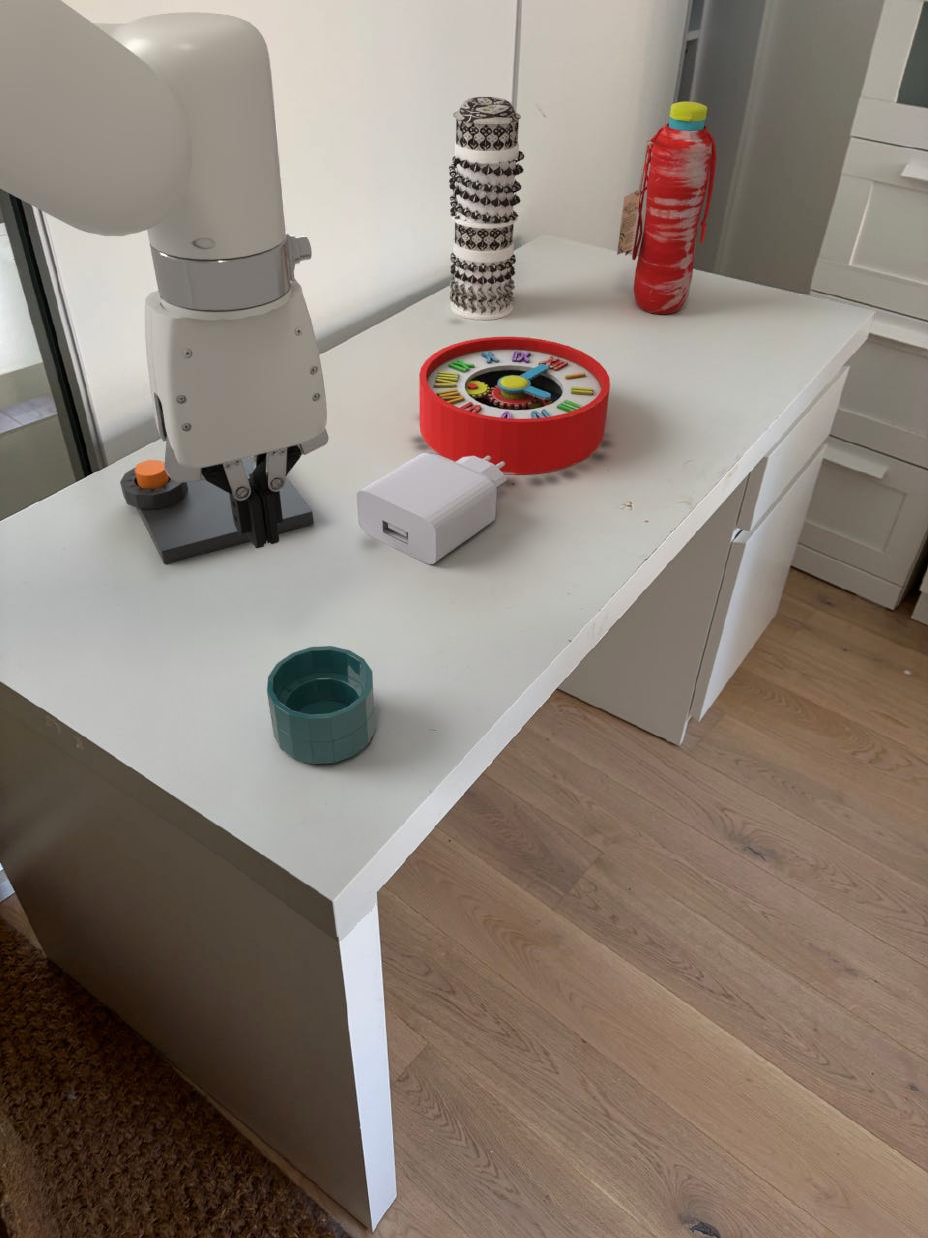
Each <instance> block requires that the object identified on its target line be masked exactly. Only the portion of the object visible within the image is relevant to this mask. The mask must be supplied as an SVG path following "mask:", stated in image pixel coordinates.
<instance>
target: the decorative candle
mask: <svg viewBox="0 0 928 1238" xmlns="http://www.w3.org/2000/svg"><path fill="white" fill-rule="evenodd" d="M452 117H453V118H455V140H454V149H453V150H454V156H453V157H452V163H451V164H450V165H449V166H448V170H449V173H448V174H449V176H450V178H449V180H448V183H449V186H448V187H449V190H452V192H453V193H452V194H451V195H450V196H449V200H450V203H449V204H450V206H451V208H450V210H449V212H450V217H451V220H452V221H453V222H454V238H453V241H452V242H453V243H452V245H453V247H452V248H453V250H452V251H453V252H451V254H450V262H451V263H453V264H451V265H450V274H451V275H453V276H452V277H451V278H450V280H449V288H450V289H451V290H450V292H449V299H450V311H451V312H452V313H454V314H455V315H456V316H459V317H461V318H464V319H468V320H475V321H491V320H499V319H502V318H505V317H506V316H509V315H510V314H511V313H512V312H513V311H514V310H513V309H514V307H513V301H515V297H514V295H515V294H514V292H513V291H514V289H516V285H515V280H514V279H512V277H513V276H514V275H516V270H515V269H516V268H515V266H514V264H516V262H517V258H516V254H514V252H515V242H514V229H515V228H514V226H515V225H514V224H515V223H516V222H517V221H518V217H519V214H518V212H517V211H515V210H514V207H515V206H516V205H519V204H520V203H521V198H520V196H519V195H518V194H517V193H518V192H519V191H521V190H522V185H521V183H520V182H518V181H517V179H516V176H519V175H521V174H523V173H524V168H523V166H522V165H521V164H519V162H521V161H523V160H524V159H525V154H524V153H523V152H524V151H521V150H520V142H519V128H520V119H522V116H521V114H520V113H518V112H516V110H515V108H514V105H513V104H512V103H511V102H510V101H509V100H507V99H505V98H501V97H496V96H476V97H471V98H470V97H469V98H468V99H466V100H465V101H463V102H462V104H461V105H460V107H459V109H458V110H457V111H455V112H453V113H452Z"/></svg>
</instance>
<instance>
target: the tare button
mask: <svg viewBox="0 0 928 1238" xmlns="http://www.w3.org/2000/svg"><path fill="white" fill-rule="evenodd" d="M134 468H135V473H136V478H137V482H138V485H139V486H140V487H142V488H156V487H160V486H163V485H165V484H167V483H168V481H169V477H168V474H167V472H166V471H165V461H163V460H158V459H148V460H144V461H141V462H139V463H138V464H136V465H135V467H134Z"/></svg>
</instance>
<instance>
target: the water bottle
mask: <svg viewBox="0 0 928 1238" xmlns="http://www.w3.org/2000/svg"><path fill="white" fill-rule="evenodd" d="M707 112H708V106H707V105H705V104H704V103H703V104H702V103H700V102H695V101H679V102H674V103H672V104H671V106H670V110H669V122H668V123H665V125H664V126H663V127H661V128H659V129H658V131H657V133H655V135H654V136H653V137H652V138H650V139H649V140H646V141H645V144H646V147H645V151H644V156H643V161H642V168H641V174H640V179H639V186H638V190H636V191H633V192H631V193H629V194H627V195H625V196H624V197H623V204H622V212H621V220H620V228H619V234H618V235H619V236H618V243H617V252H616V255H617V256H619V255H621V254H624V253H625V255H624V257H626V256H628V255H629V253H631V252H632V255H631V259H632V261H635V260H637V262H636V266H635V272H634V282H633V294H634V299H635V303H636V305H637V306H638V307H639V308H640V309H641V310H642V311H644V312H647V313H649V314H654V315H670V314H674V313H676V312H678V311H680V310H681V309H682V307H683V306H684V304H685V302H686V301H687V298H688V297H689V295H690V289H691V285H692V279H693V273H694V265H695V264H694V263H695V254H696V245H697V235H698V229H699V224H700V226H701V229H700V230H701V231H700V238H699V239H700V240H699V243H700V244H701V245H702V244H703V243H704V240H705V236H706V230H707V223H706V222H707V221H706V220H707V218H708V216H709V211H710V206H711V200H712V195H713V190H714V182H715V173H716V168H717V167H716V166H717V146H716V142H715V139H714V137H713V136H712V134H711V133H710V132H709V129H708V126H706V125H705V122H706V119H707ZM645 193H646V201H645V202H646V203H645V207H646V208H645V216H644V222H643V214H642V211H643V206H644V198H645ZM706 195H707V196H706ZM705 198H706V199H705ZM705 200H706V203H705V208H704V213H703V218H702V220H701V222H700V218H701V214H702V210H703V206H704V202H705ZM637 256H638V257H637Z"/></svg>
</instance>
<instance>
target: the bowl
mask: <svg viewBox="0 0 928 1238" xmlns="http://www.w3.org/2000/svg"><path fill="white" fill-rule="evenodd" d="M373 673H374V672H373V670H372V669H371V667H370V666H369V664H368V663H367V661H366V660H365V658H364V657H362V656H360V655H358V654H357V653H355V652H353V651H352V650H350V649H346V648H342V647H337V646H333V645H324V646H323V645H321V646H309V647H306V648H302V649H300V650H297V651H293V652H291V653H290V654H288V655H287V656H285V657H284V658H282V659H281V660H280V661H278V662H277V663H276V664H275V665H274V667H273V669H272V670H271V671H270V673H269V675H268V676H267V683H266V694H267V701H268V707H269V714H270V720H271V726H272V734H273V737H274V739H275V741H276V743H277V745H278V747H279V749H280V750H281V751H282V752H284V753H285V754H287V755H288V756H289V757H291V758H292V759H294V760H296V761H300V762H304V763H307V764H311V765H320V764H322V765H323V764H334V763H339V762H341V761H343V760H344V761H345V760H346V759H350V758H352V757H353V756H355V755H356V754H358V753H359V752H361V750H363V749H364V748H365V747H366V746H367V745H368V744H369V743H370V741H371V740H372V738H373V735H374V733H375V732H376V713H375V712H376V711H375V696H374V695H375V694H374V674H373Z"/></svg>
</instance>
